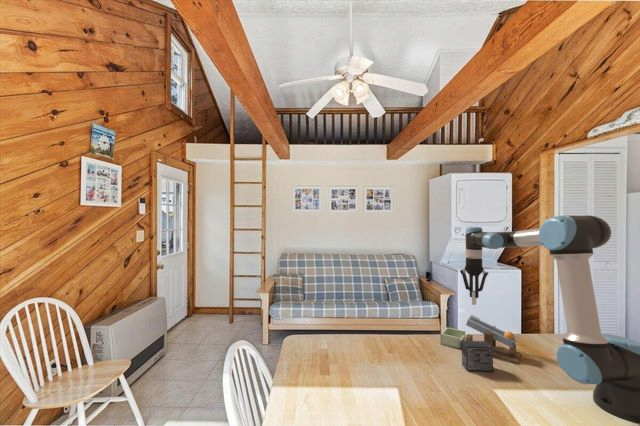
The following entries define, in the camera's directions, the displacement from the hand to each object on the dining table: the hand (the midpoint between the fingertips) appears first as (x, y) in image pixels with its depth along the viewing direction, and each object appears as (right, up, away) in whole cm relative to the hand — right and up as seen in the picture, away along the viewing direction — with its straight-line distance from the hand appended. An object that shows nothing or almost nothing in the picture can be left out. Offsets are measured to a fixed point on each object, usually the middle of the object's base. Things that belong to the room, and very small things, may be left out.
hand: (474, 304), depth 154 cm
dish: (-11, -19, -1) cm, 22 cm away
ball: (+8, -10, -16) cm, 20 cm away
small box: (-12, -20, -26) cm, 34 cm away
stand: (+2, -19, -11) cm, 22 cm away
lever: (+3, -11, -8) cm, 14 cm away
